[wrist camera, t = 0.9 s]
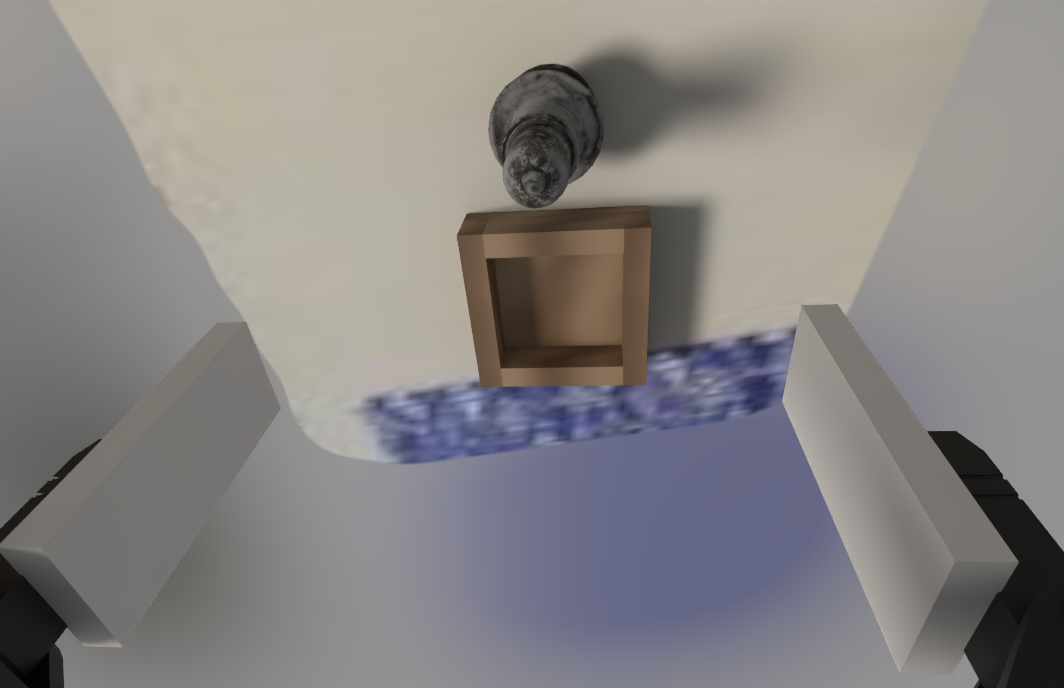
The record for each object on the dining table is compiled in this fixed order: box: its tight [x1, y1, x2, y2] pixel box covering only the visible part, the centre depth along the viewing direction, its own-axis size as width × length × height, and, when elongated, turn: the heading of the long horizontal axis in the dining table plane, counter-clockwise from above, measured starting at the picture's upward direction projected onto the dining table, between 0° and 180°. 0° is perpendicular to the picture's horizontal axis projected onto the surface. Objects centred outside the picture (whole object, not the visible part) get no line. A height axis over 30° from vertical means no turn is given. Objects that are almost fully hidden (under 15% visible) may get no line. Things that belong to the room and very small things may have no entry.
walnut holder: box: [457, 206, 652, 387], centre depth 38 cm, size 11×11×3 cm
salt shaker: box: [488, 64, 603, 208], centre depth 28 cm, size 6×6×12 cm
